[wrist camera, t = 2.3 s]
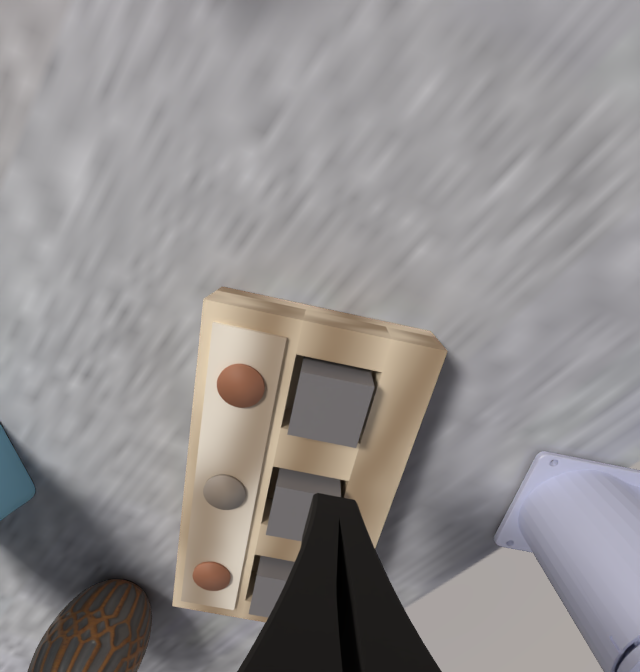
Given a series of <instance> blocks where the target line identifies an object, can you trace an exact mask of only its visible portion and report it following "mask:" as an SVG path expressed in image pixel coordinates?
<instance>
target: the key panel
mask: <svg viewBox="0 0 640 672" xmlns="http://www.w3.org/2000/svg"><path fill="white" fill-rule="evenodd" d="M447 352H448V351H447V350H446V349H445V348H444V346H443V345H442V344H441V343H440V342H439V340H438V339H437V338H436V337H435V336H434V335H433V333H432V332H431V331H426V330H422V329H417V328H413V327H408V326H403V325H399V324H394V323H389V322H385V321H380V320H375V319H371V318H366V317H361V316H357V315H352V314H347V313H343V312H338V311H334V310H329V309H324V308H320V307H315V306H310V305H306V304H301V303H296V302H292V301H287V300H282V299H278V298H273V297H269V296H264V295H259V294H255V293H250V292H245V291H241V290H236V289H231V288H227V287H221V288H219V289H218V290H216V291H215V292H213V293H212V294H211V295H209V296H208V297H206V298H205V299H204V300H203V310H202V319H201V329H200V339H199V349H198V359H197V368H196V378H195V388H194V398H193V408H192V417H191V427H190V437H189V447H188V457H187V466H186V476H185V486H184V496H183V506H182V516H181V525H180V535H179V545H178V555H177V565H176V574H175V584H174V594H173V604H172V606H174V607H180V608H186V609H192V610H198V611H203V612H209V613H215V614H221V615H226V616H232V617H238V618H244V619H250V620H255V621H261V622H266V621H267V619H268V617H262V616H256V615H250V614H249V609H250V604H251V599H252V594H253V590H254V585H255V580H256V575H257V571H258V566H259V561H260V557H261V556H266V557H271V558H277V559H282V560H288V561H293V562H295V560H296V558H297V556H298V553H299V551H300V548H301V541H296V540H291V539H285V538H280V537H274V536H269V535H266V530H267V525H268V520H269V515H270V510H271V506H272V501H273V496H274V492H275V487H276V482H277V478H278V473H279V468H284V469H289V470H294V471H299V472H305V473H310V474H315V475H320V476H325V477H330V478H336V479H340V486H341V497H343V498H348V499H353V500H355V501H356V502H357V504H358V507H359V510H360V513H361V515H362V518H363V521H364V523H365V526H366V529H367V531H368V534H369V536H370V538H371V541H372V543H373V546H374V548H376V545H377V542H378V539H379V537H380V534H381V531H382V528H383V526H384V523H385V520H386V518H387V515H388V512H389V509H390V507H391V504H392V501H393V499H394V496H395V493H396V490H397V488H398V485H399V482H400V479H401V477H402V474H403V471H404V469H405V466H406V463H407V460H408V458H409V455H410V452H411V450H412V447H413V444H414V441H415V439H416V436H417V433H418V430H419V428H420V425H421V422H422V420H423V417H424V414H425V411H426V409H427V406H428V403H429V401H430V398H431V395H432V392H433V390H434V387H435V384H436V382H437V379H438V376H439V373H440V371H441V368H442V365H443V362H444V360H445V357H446V354H447ZM304 356H306V357H311V358H316V359H321V360H326V361H330V362H335V363H340V364H345V365H350V366H354V367H359V368H364V369H369V370H370V371H371V375H372V379H373V383H374V391H373V394H372V397H371V401H370V404H369V407H368V411H367V414H366V417H365V421H364V424H363V427H362V431H361V434H360V437H359V441H358V444H357V447H356V448H353V447H348V446H343V445H338V444H332V443H327V442H322V441H317V440H312V439H307V438H302V437H297V436H292V435H287V433H288V428H289V423H290V418H291V413H292V408H293V403H294V399H295V394H296V390H297V385H298V380H299V376H300V371H301V366H302V362H303V357H304Z"/></svg>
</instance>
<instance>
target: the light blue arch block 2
mask: <svg viewBox="0 0 640 672" xmlns="http://www.w3.org/2000/svg"><path fill="white" fill-rule="evenodd" d="M34 494H35V486H34V484H33V482H32V480H31V478H30V476H29V475H28V473H27V471H26V469H25V467H24V465H23V464H22V462H21V460H20V458H19V456H18V455H17V453H16V451H15V449H14V447H13V446H12V444H11V442H10V440H9V438H8V437H7V435H6V433H5V431H4V429H3V427H2V426H1V424H0V521H1V520H2V519H3V518H5V517H6V516H7V515H9V514H10V513H11V512H13V511H14V510H16V509H17V508H19V507H20V506H22V505H23V504H25V503H26V502H27V501H29V500H30V499H32V497H33V496H34Z"/></svg>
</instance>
